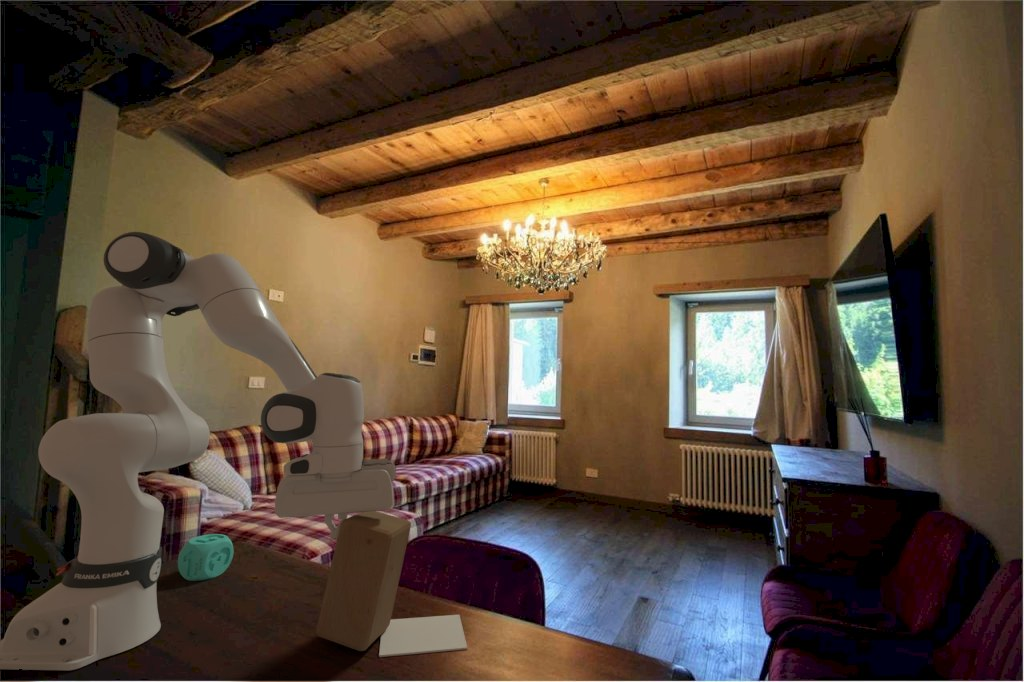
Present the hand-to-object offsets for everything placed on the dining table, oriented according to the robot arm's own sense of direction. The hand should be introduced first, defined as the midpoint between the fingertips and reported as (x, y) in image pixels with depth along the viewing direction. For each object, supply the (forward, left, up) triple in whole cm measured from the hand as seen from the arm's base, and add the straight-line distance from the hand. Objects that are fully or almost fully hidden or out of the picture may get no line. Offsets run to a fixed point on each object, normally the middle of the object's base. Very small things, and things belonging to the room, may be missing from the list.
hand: (335, 538), depth 82 cm
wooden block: (+4, +1, -17) cm, 17 cm away
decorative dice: (-33, +35, -18) cm, 51 cm away
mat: (+17, 0, -18) cm, 24 cm away
